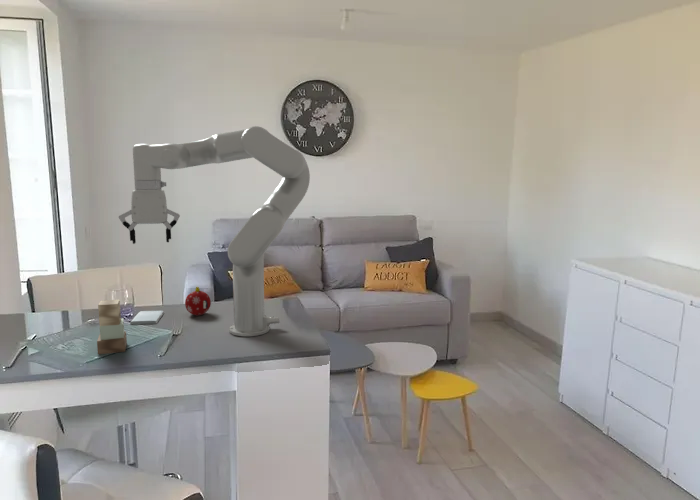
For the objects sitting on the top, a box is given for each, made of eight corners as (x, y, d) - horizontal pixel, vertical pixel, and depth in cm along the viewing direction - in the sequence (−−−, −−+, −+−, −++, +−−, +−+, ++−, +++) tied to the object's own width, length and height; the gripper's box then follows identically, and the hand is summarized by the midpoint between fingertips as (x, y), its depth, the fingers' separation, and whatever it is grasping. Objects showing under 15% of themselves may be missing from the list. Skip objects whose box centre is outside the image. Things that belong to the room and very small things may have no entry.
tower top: (124, 331, 159) (123, 318, 158) (123, 337, 153) (122, 324, 153) (101, 333, 157) (100, 320, 156) (100, 340, 151) (99, 326, 150)
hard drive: (156, 320, 179) (163, 310, 191) (130, 321, 177) (139, 310, 190) (156, 325, 179) (163, 314, 191) (130, 326, 178) (139, 315, 190)
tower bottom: (126, 344, 160) (126, 331, 159) (125, 352, 153) (124, 338, 152) (100, 346, 157) (99, 333, 157) (97, 355, 151) (96, 341, 150)
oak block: (121, 319, 157) (119, 299, 156) (119, 324, 152) (117, 303, 151) (102, 320, 155) (100, 300, 154) (99, 326, 151) (98, 305, 150)
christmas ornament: (202, 310, 195) (201, 282, 194) (215, 314, 189) (215, 286, 188) (180, 314, 189) (179, 286, 187) (193, 320, 183) (192, 291, 182)
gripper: (177, 185, 169) (180, 239, 172) (117, 185, 164) (121, 241, 167) (178, 186, 162) (181, 243, 165) (116, 186, 157) (119, 245, 160)
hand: (151, 242), depth 166 cm, fingers open, 9 cm apart
